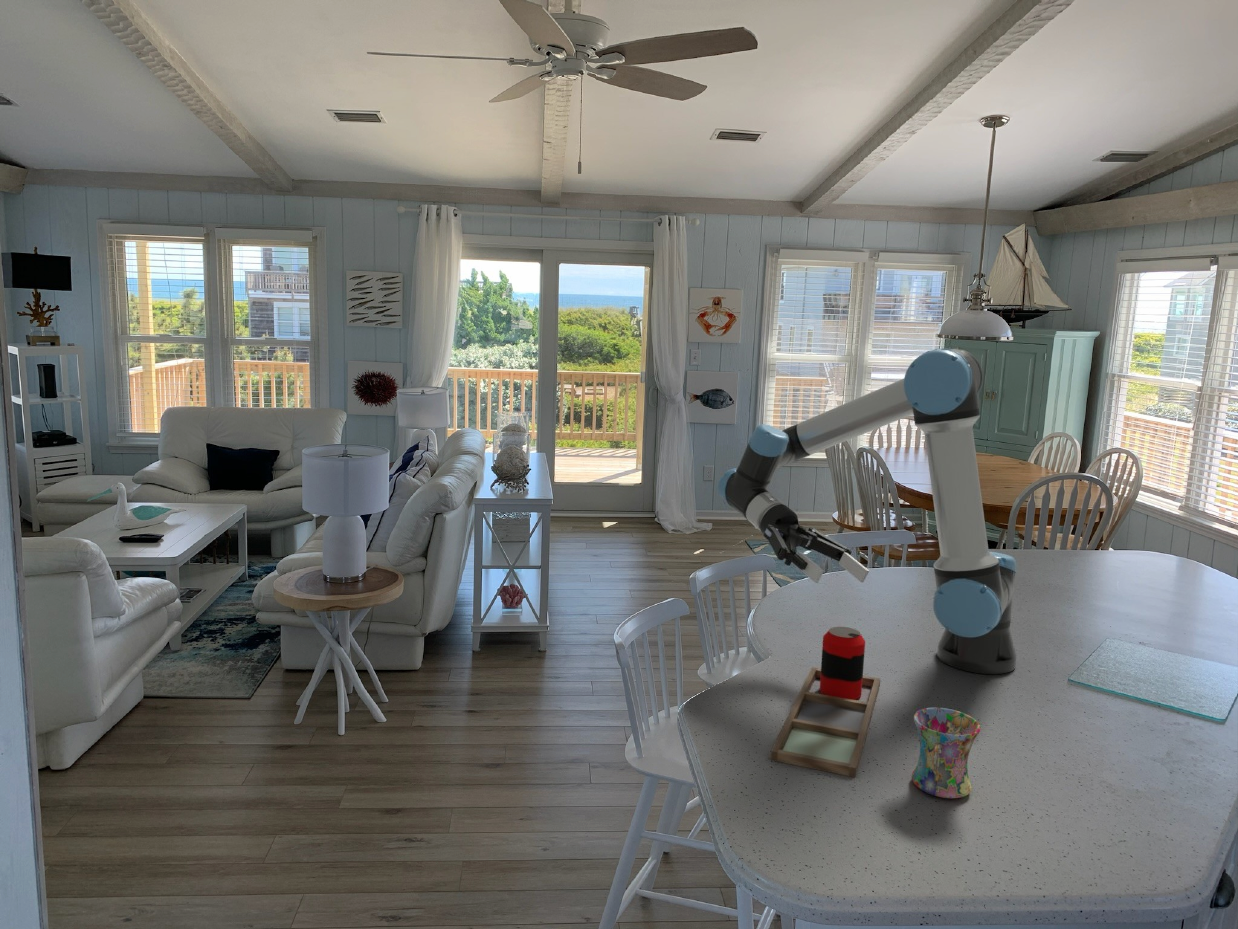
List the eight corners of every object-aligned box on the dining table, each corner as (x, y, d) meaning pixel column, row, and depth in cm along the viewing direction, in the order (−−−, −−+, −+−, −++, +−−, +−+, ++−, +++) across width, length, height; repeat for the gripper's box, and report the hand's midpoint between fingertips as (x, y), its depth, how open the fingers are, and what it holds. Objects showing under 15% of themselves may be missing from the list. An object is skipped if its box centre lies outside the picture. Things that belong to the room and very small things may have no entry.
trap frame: (879, 686, 168) (880, 678, 168) (855, 777, 134) (855, 768, 134) (811, 674, 173) (811, 667, 172) (770, 759, 139) (771, 751, 138)
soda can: (845, 705, 159) (850, 642, 157) (811, 691, 165) (815, 630, 163) (869, 694, 164) (873, 633, 162) (835, 681, 170) (839, 622, 168)
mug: (916, 765, 138) (921, 702, 136) (979, 782, 133) (985, 717, 131) (897, 800, 128) (902, 732, 126) (964, 820, 123) (971, 749, 121)
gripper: (805, 535, 191) (874, 591, 176) (722, 532, 176) (790, 594, 161) (819, 505, 189) (891, 560, 174) (737, 499, 174) (807, 559, 159)
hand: (843, 576), depth 167 cm, fingers open, 13 cm apart
